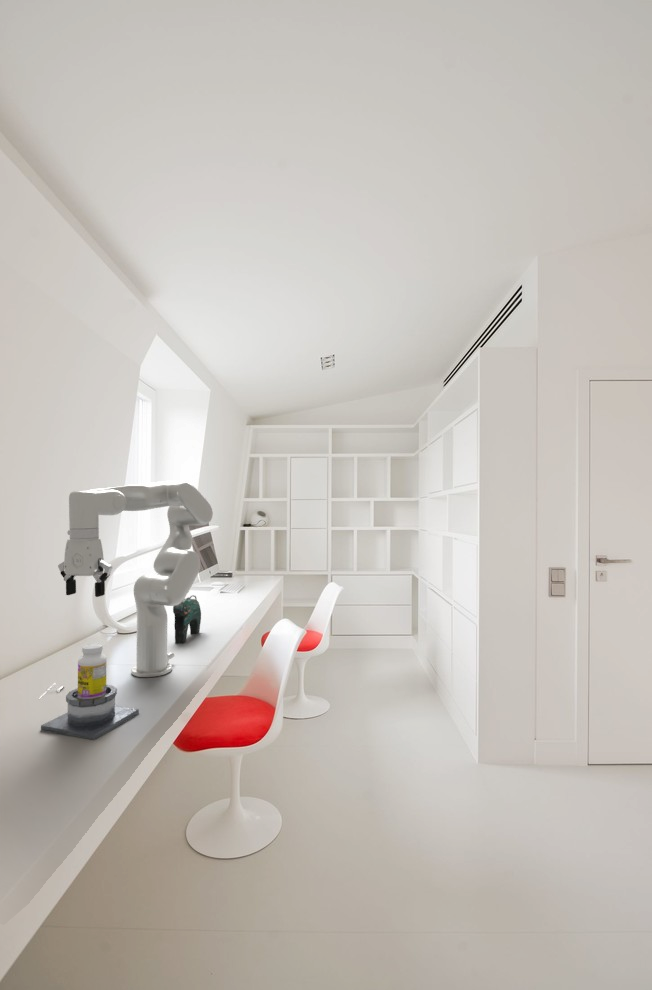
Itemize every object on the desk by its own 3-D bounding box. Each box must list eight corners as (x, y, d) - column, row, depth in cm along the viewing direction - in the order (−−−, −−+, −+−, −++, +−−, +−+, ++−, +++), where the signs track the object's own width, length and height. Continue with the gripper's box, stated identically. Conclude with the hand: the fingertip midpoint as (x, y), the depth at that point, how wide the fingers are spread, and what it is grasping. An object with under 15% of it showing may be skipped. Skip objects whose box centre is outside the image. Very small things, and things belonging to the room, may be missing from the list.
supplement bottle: (72, 697, 134) (73, 646, 134) (98, 690, 139) (98, 641, 139) (85, 704, 130) (85, 651, 130) (111, 696, 135) (111, 645, 135)
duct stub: (89, 706, 144) (89, 678, 144) (138, 713, 139) (138, 685, 139) (40, 730, 129) (41, 699, 129) (94, 739, 124) (94, 708, 124)
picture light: (54, 684, 163) (54, 677, 163) (69, 684, 163) (69, 677, 163) (37, 701, 149) (37, 694, 149) (53, 700, 149) (53, 693, 149)
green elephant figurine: (184, 645, 205) (184, 593, 205) (168, 644, 206) (168, 592, 206) (203, 632, 225) (204, 585, 225) (189, 631, 226) (189, 584, 226)
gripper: (48, 535, 148) (50, 596, 149) (101, 536, 144) (102, 599, 144) (68, 532, 156) (69, 591, 156) (119, 533, 151) (120, 593, 151)
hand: (85, 595), depth 150 cm, fingers open, 9 cm apart
